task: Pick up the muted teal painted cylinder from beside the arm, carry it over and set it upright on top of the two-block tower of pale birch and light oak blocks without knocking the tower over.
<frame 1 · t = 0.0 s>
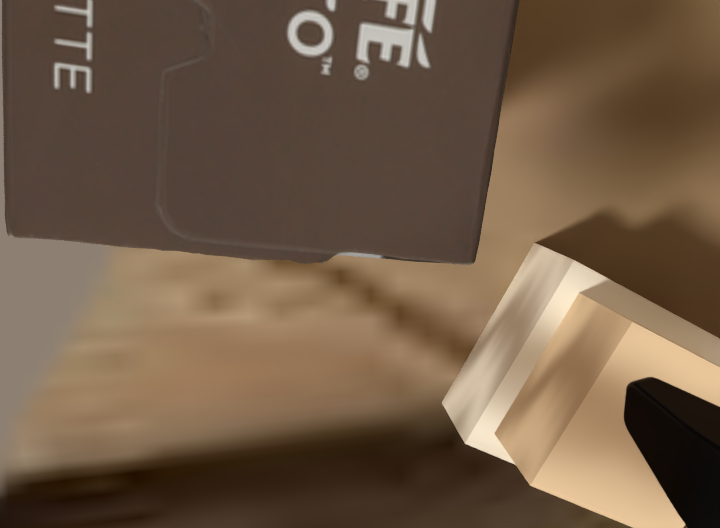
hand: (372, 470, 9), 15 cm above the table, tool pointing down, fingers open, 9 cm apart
oak top block: (600, 395, 23), point 4 cm above the table, touching birch base block
birch base block: (556, 357, 27), on the table, touching oak top block
coffee box: (287, 68, 22), on the table
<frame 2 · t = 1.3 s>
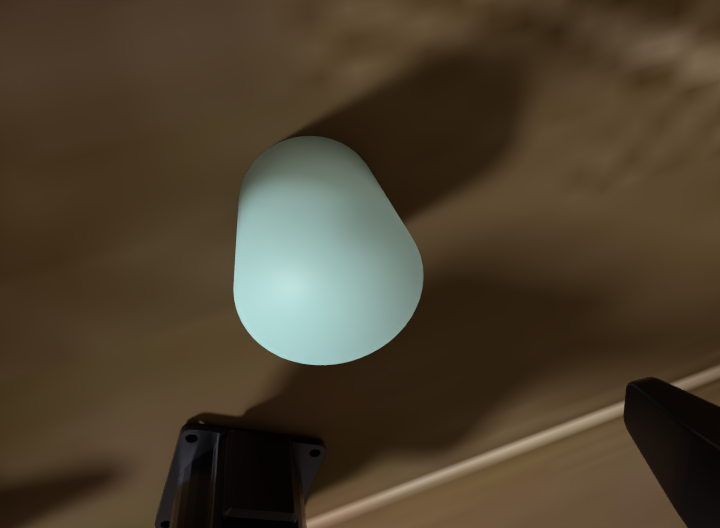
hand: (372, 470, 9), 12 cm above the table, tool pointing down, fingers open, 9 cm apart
teal cylinder: (309, 204, 19), on the table
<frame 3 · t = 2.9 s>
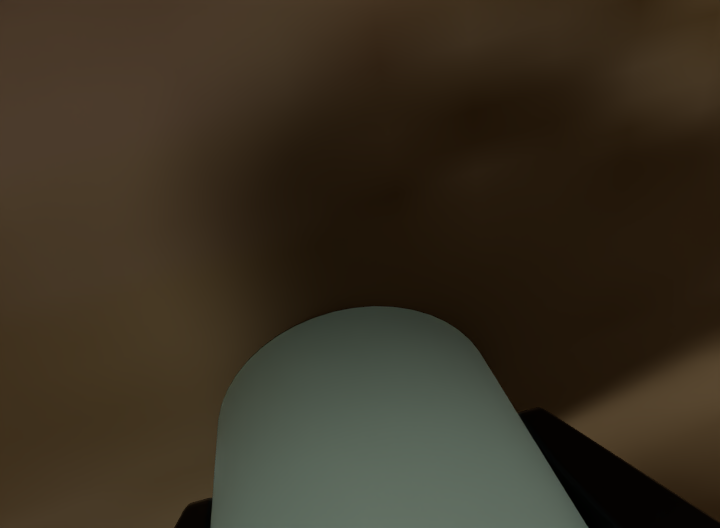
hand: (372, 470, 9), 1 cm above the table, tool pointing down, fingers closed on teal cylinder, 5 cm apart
teal cylinder: (360, 423, 10), on the table, touching gripper
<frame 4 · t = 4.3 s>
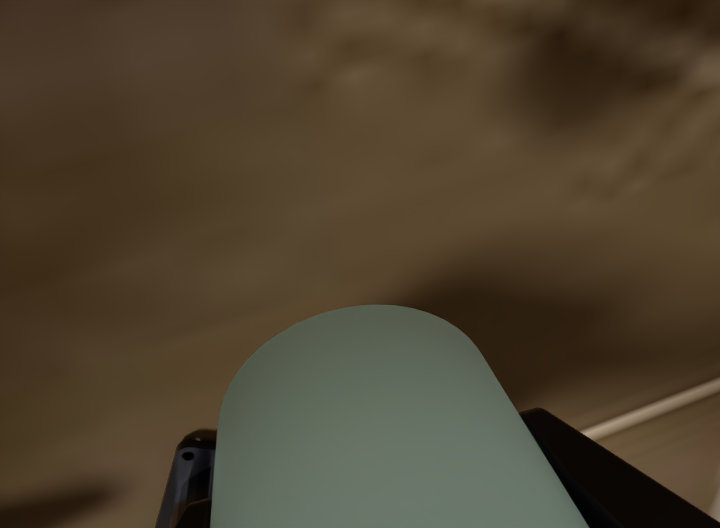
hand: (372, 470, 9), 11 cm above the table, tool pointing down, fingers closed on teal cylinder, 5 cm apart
teal cylinder: (360, 421, 10), point 10 cm above the table, touching gripper
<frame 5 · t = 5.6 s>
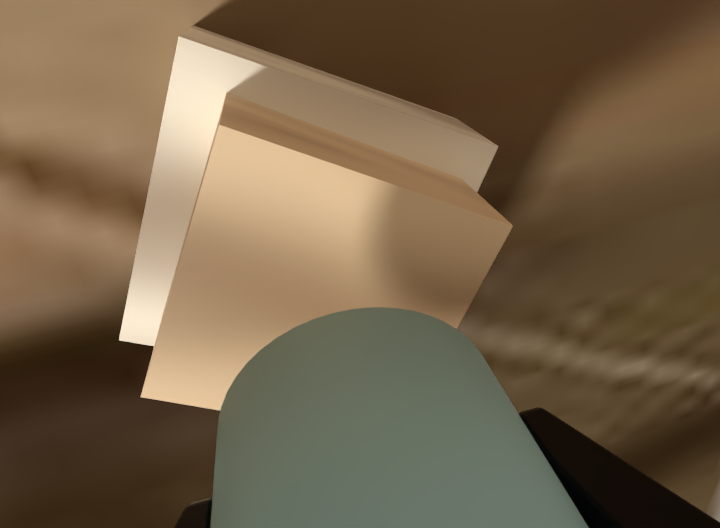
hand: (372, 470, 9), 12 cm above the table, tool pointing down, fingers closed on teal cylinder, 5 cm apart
teal cylinder: (361, 424, 10), point 11 cm above the table, touching gripper
oak top block: (310, 249, 16), point 4 cm above the table
birch base block: (294, 197, 19), on the table
when the fingers open (9 cm above the table, at t = 6.4 s): teal cylinder drops 1 cm, resting on oak top block.
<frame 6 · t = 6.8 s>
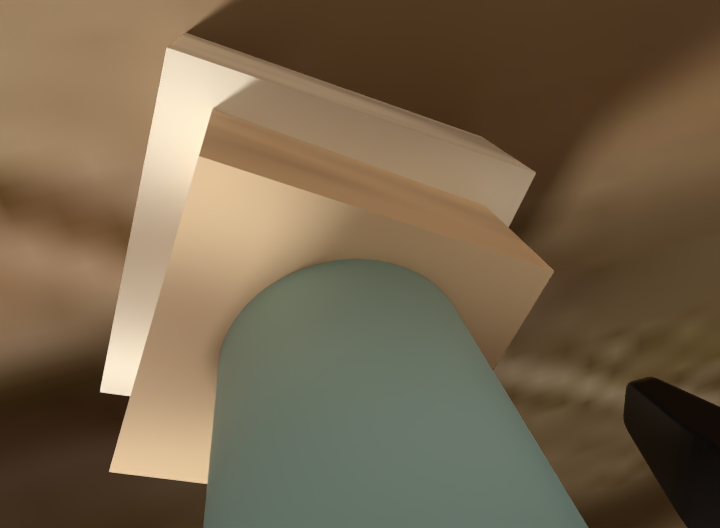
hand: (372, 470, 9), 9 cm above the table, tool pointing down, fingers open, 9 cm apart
teal cylinder: (346, 368, 11), point 7 cm above the table, touching oak top block
oak top block: (310, 286, 14), point 4 cm above the table, touching birch base block, teal cylinder
birch base block: (300, 223, 17), on the table, touching oak top block
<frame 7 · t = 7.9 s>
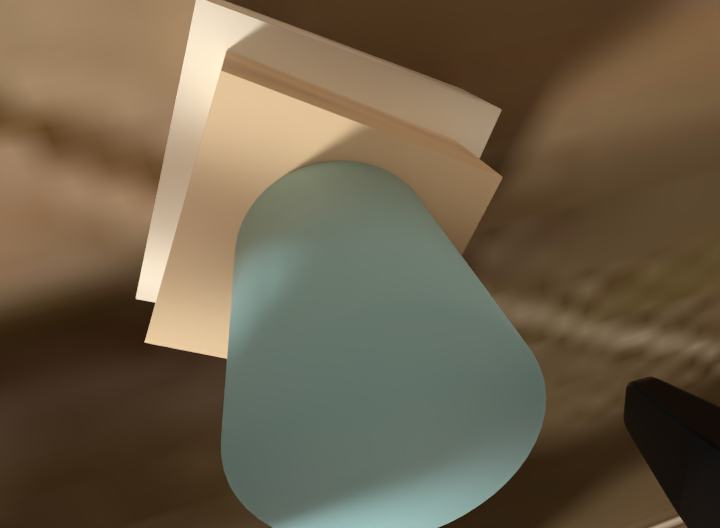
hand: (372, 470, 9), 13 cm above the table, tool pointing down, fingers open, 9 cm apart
teal cylinder: (337, 257, 13), point 7 cm above the table, touching oak top block
oak top block: (307, 208, 16), point 4 cm above the table, touching birch base block, teal cylinder
birch base block: (303, 166, 20), on the table, touching oak top block
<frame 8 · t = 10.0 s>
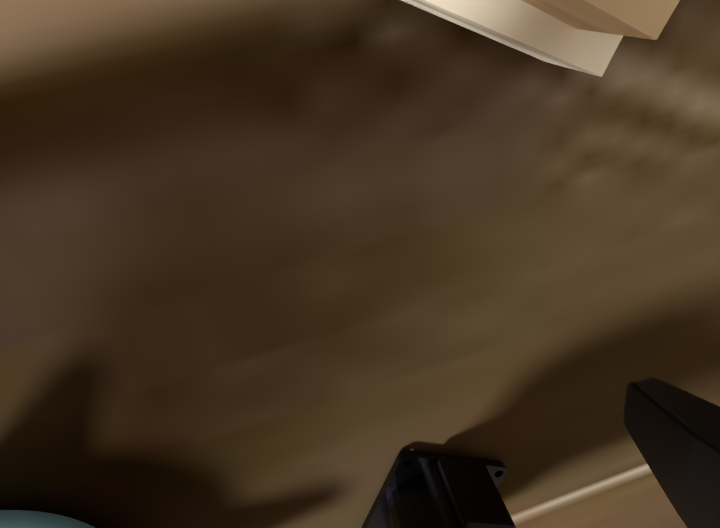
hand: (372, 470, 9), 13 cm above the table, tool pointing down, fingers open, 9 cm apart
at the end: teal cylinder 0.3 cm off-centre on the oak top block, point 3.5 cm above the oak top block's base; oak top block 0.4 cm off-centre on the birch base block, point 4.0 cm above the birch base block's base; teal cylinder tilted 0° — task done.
